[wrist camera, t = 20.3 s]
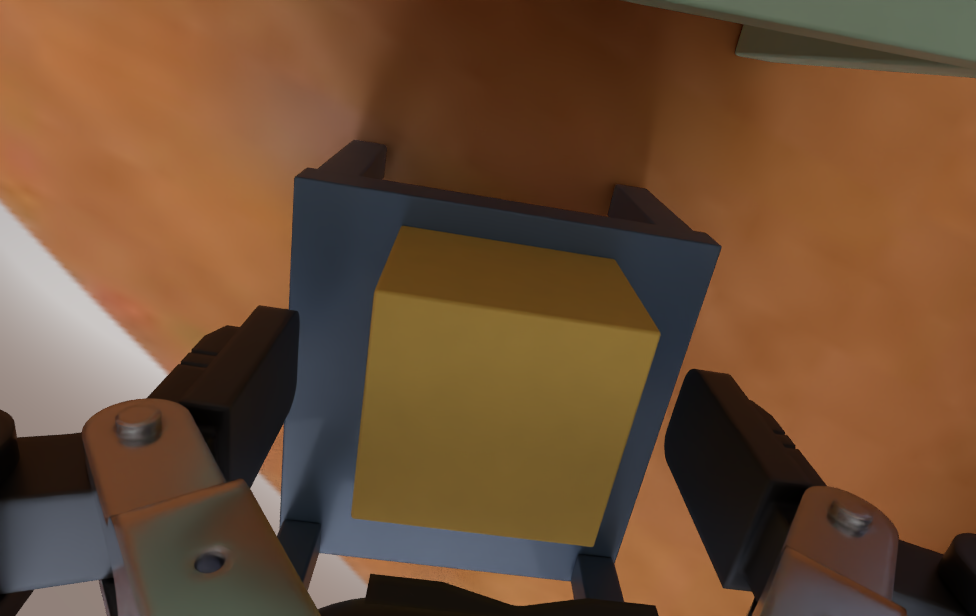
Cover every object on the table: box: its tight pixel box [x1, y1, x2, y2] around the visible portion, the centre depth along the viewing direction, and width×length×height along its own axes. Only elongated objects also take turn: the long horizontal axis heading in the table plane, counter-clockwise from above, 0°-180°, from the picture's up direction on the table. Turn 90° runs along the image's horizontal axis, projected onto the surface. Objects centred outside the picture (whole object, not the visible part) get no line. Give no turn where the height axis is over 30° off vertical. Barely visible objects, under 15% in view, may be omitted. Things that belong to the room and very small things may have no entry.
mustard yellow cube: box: [351, 226, 661, 547], centre depth 12 cm, size 5×5×4 cm
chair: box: [277, 140, 721, 602], centre depth 13 cm, size 10×9×15 cm
